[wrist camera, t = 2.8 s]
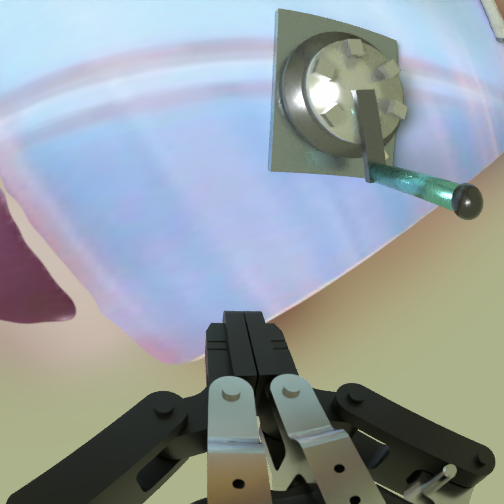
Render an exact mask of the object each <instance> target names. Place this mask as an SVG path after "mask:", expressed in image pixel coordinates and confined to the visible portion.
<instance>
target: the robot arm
mask: <svg viewBox="0 0 504 504" xmlns="http://www.w3.org/2000/svg"><path fill="white" fill-rule="evenodd" d="M205 364H206V383H207V387H206V388H205V389H204V390H203V391H202V392H201V393H199V394H197V395H195V396H192V397H187V398H184V399H183V398H181V397H180V396H179V395H177V394H175V393H172V392H169V391H158V392H154V393H151V394H149V395H148V396H146V397H145V398H144V399H143V400H141V401H140V402H139V403H138V404H136V405H135V406H134V407H133V408H131V409H130V410H129V411H127V412H126V413H125V414H124V415H122V416H121V417H120V418H118V419H117V420H116V421H115V422H113V423H112V424H111V425H109V426H108V427H107V428H105V429H104V430H103V431H101V432H100V433H99V434H97V435H96V436H95V437H93V438H92V439H91V440H89V441H88V442H87V443H85V444H84V445H82V446H81V447H80V448H78V449H77V450H76V451H74V452H73V453H72V454H70V455H69V456H67V457H66V458H65V459H63V460H62V461H60V462H59V463H58V464H56V465H55V466H53V467H52V468H50V469H49V470H47V471H46V472H45V473H43V474H42V475H40V476H39V477H37V478H36V479H34V480H33V481H31V482H30V483H28V484H27V485H25V486H24V487H22V488H21V489H19V490H18V491H16V492H15V493H13V494H12V495H11V496H10V497H9V498H8V500H7V503H6V504H143V503H144V502H145V501H146V500H147V499H148V498H149V497H150V496H151V495H152V494H153V493H154V492H155V491H156V490H158V489H159V488H160V487H161V486H162V485H163V484H164V483H165V482H166V481H167V480H168V479H169V478H170V477H171V476H172V475H173V474H174V473H175V472H176V471H177V470H178V469H179V468H180V467H181V466H182V465H183V464H184V463H185V462H186V461H187V460H188V458H189V457H191V456H194V455H197V454H201V453H205V452H207V498H204V499H200V500H198V501H195V502H193V503H191V504H468V503H469V500H470V497H471V494H472V491H473V488H474V486H475V485H476V484H477V483H479V482H480V481H481V480H483V479H484V478H485V477H486V476H487V475H489V474H490V473H491V472H492V471H493V469H494V467H495V457H494V454H493V453H492V451H491V450H490V449H489V448H488V447H486V446H484V445H482V444H480V443H477V442H475V441H473V440H470V439H468V438H466V437H464V436H461V435H459V434H457V433H455V432H453V431H451V430H449V429H446V428H444V427H442V426H440V425H438V424H436V423H434V422H432V421H430V420H427V419H426V418H424V417H422V416H420V415H418V414H416V413H414V412H412V411H410V410H408V409H406V408H404V407H402V406H400V405H398V404H396V403H394V402H392V401H390V400H388V399H386V398H385V397H383V396H381V395H379V394H377V393H375V392H374V391H372V390H370V389H368V388H366V387H364V386H362V385H360V384H356V383H348V384H344V385H342V386H341V387H339V389H338V390H337V392H331V391H323V390H318V389H314V388H312V387H311V385H310V384H309V382H308V381H307V380H305V379H304V378H302V377H300V376H299V375H298V372H297V369H296V367H295V364H294V362H293V359H292V356H291V354H290V351H289V349H288V346H287V343H286V342H285V338H284V335H283V333H282V331H281V330H280V329H279V328H278V327H277V326H276V325H275V324H273V323H272V324H266V323H265V320H264V317H263V314H262V312H261V311H243V312H242V311H224V313H223V323H211V324H210V326H209V327H208V329H207V331H206V349H205ZM256 416H259V419H260V427H259V434H258V426H257V418H256ZM358 429H359V430H361V431H363V432H365V433H366V434H368V435H370V436H372V437H374V438H375V439H377V440H379V441H381V442H383V443H385V444H386V445H384V444H381V443H379V442H377V441H376V440H374V439H372V438H370V437H368V436H366V435H365V434H363V433H361V432H359V431H358ZM259 436H260V439H261V442H262V443H260V441H259ZM266 458H267V460H268V464H269V466H270V470H271V473H272V486H273V490H270V483H269V476H268V469H267V461H266ZM374 481H375V482H377V483H379V484H381V485H383V486H385V487H387V488H389V489H391V490H393V491H395V492H397V493H399V494H401V495H403V496H404V499H403V498H401V497H399V496H398V495H396V494H394V493H392V492H390V491H388V490H386V489H384V488H383V487H381V486H379V485H377V484H375V482H374Z"/></svg>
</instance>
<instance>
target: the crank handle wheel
mask: <svg viewBox="0 0 504 504" xmlns="http://www.w3.org/2000/svg"><path fill="white" fill-rule="evenodd" d="M400 71H401V70H400V69H399V67H398V66H397V64H396V63H395V61H394V60H393V59H390V60H387V58H386V57H385V56H384V55H383V54H381V53H380V52H379V51H378V50H376V49H375V48H373V47H371V46H369V45H368V44H365V43H362V42H361V39H346V40H342V41H337V42H334V43H332V44H330V45H328V46H326V47H324V48H323V49H321V50H319V51H318V52H316V53H315V54H314V55H313V56H312V57H311V58H310V59H309V61H308V62H307V64H306V66H305V68H304V71H303V75H302V81H301V91H302V97H303V101H304V104H305V107H306V109H307V111H308V113H309V115H310V117H311V118H312V119H313V121H314V122H315V123H316V124H317V126H318V127H319V128H320V129H322V130H323V131H324V132H325V133H326V134H328V135H329V136H331V137H333V138H335V139H337V140H340V141H343V142H348V143H359V144H361V148H362V155H363V162H364V170H365V179H366V182H368V183H374V182H375V183H378V184H381V185H384V186H387V187H390V188H393V189H396V190H399V191H402V192H404V193H407V194H410V195H413V196H415V197H418V198H421V199H424V200H426V201H429V202H431V203H434V204H437V205H439V206H442V207H444V208H447V209H449V210H452V211H454V212H455V213H456V215H457V216H459V217H460V218H462V219H464V220H472V219H475V218H476V217H477V216H479V214H480V213H481V211H482V208H483V197H482V194H481V192H480V191H479V189H478V188H477V187H475V186H474V185H472V184H469V183H463V184H457V183H454V182H451V181H447V180H444V179H440V178H437V177H433V176H430V175H426V174H422V173H418V172H414V171H410V170H406V169H402V168H398V167H394V166H389V165H386V160H385V152H384V144H383V139H384V138H386V137H387V136H388V135H389V134H390V133H391V132H392V131H393V130H394V129H395V127H396V126H397V124H398V122H399V120H405V116H406V112H407V109H408V107H407V106H405V105H404V104H403V91H402V86H401V83H400V80H399V77H398V75H397V74H398V73H399V72H400Z"/></svg>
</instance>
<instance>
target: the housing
mask: <svg viewBox="0 0 504 504" xmlns="http://www.w3.org/2000/svg"><path fill="white" fill-rule="evenodd" d="M346 39H361V42H362V43H365V44H368V45H369V46H371V47H373V48H375V49H376V50H378V51H379V52H380V53H381V54H383V55H384V56H385V57H386V58H387V60H390V59H393V60H394V61H395V63H396V64H397V43H396V40H394V39H391V38H388V37H386V36H383V35H380V34H377V33H375V32H372V31H369V30H366V29H363V28H360V27H356V26H353V25H350V24H346V23H343V22H339V21H336V20H332V19H328V18H324V17H320V16H315V15H311V14H306V13H301V12H296V11H291V10H285V9H279V8H278V10H277V11H276V12H275V35H274V58H273V81H272V102H271V122H270V141H269V160H268V170H269V171H273V172H295V173H311V174H326V175H338V176H349V177H360V178H365V170H364V162H363V155H362V148H361V144H359V143H348V142H343V141H340V140H337V139H335V138H333V137H331V136H329V135H328V134H326V133H325V132H324V131H323V130H322V129H320V128H319V127H318V126H317V124H316V123H315V122H314V121H313V119H312V118H311V117H310V115H309V113H308V111H307V109H306V107H305V104H304V101H303V97H302V91H301V81H302V75H303V71H304V68H305V66H306V64H307V62H308V61H309V59H310V58H311V57H312V56H313V55H314V54H315V53H316V52H318V51H319V50H321V49H323V48H324V47H326V46H328V45H330V44H332V43H334V42H337V41H342V40H346ZM399 123H400V120H399V122H398V124H397V126H396V127H395V129H394V130H393V131H392V132H391V133H390V134H389V135H388V136H387V137H386V138H384V139H383V144H384V152H385V160H386V165H389V166H393V156H394V145H395V133H396V131H397V129H398V126H399Z"/></svg>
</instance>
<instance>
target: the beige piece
mask: <svg viewBox="0 0 504 504" xmlns="http://www.w3.org/2000/svg"><path fill="white" fill-rule="evenodd" d="M481 3H482V5H483V7H484V9H485V12H486V14H487V17H488V19H489V22H490V24H491V25H490V26H491V27H492V30H493V32H494V35H495V37H496V40H500V41H504V21H503V18H502V16H501V14H500V12H499V9H498V8H497V5H496V3H495V1H494V0H481Z"/></svg>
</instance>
